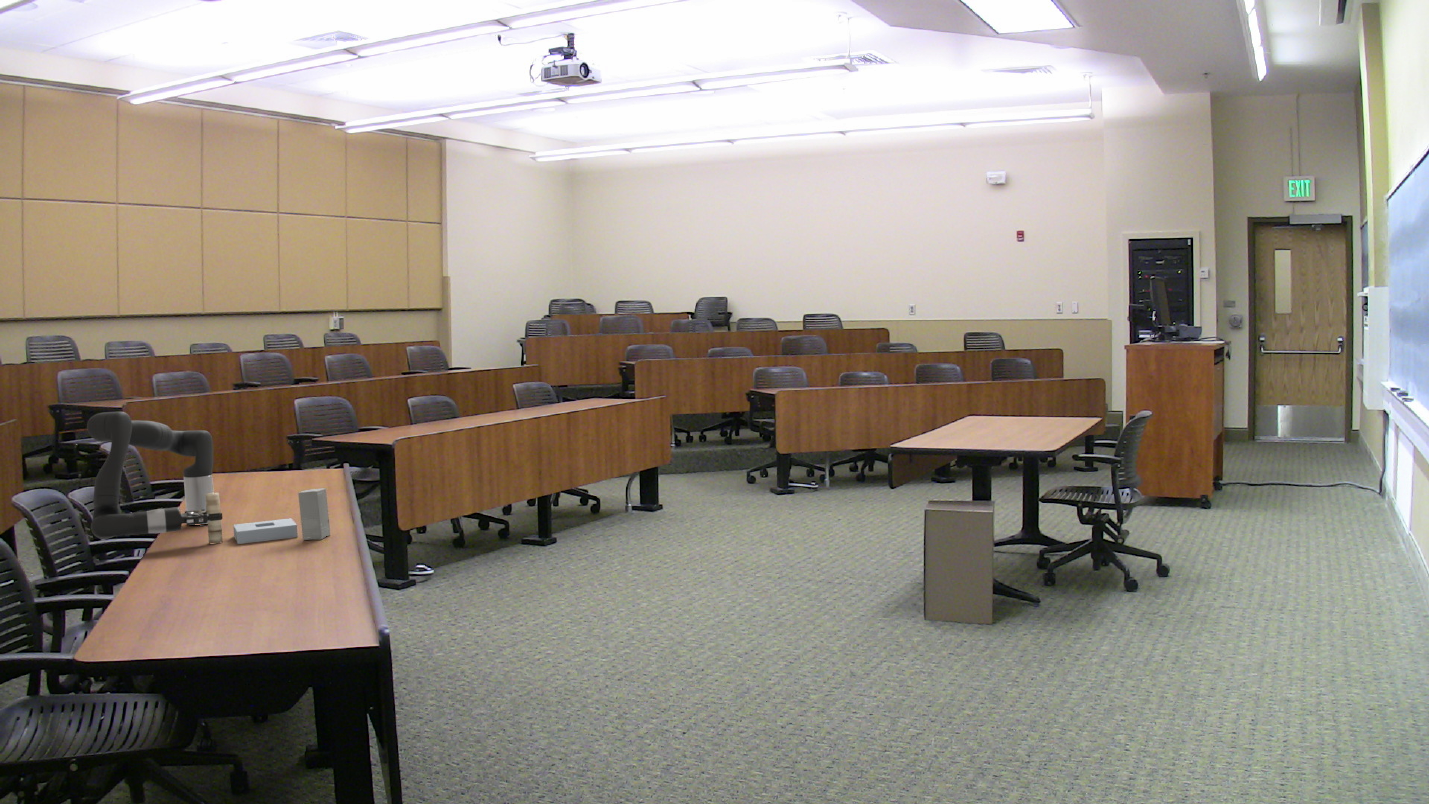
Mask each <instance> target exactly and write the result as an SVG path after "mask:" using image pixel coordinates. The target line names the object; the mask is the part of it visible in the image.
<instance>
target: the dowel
mask: <svg viewBox="0 0 1429 804" xmlns="http://www.w3.org/2000/svg"><path fill="white" fill-rule="evenodd" d="M205 496H206V509H207V514H214V513H220V511H221V505H220V504H221V501H220V500H221V499H220V492H214V493H208V494H205ZM207 535H208V544H209V543H219V544H221V543H220V542H222V543H223V528H222V520H215V521H210V522H208V525H207Z"/></svg>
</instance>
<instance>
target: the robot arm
mask: <svg viewBox="0 0 1429 804" xmlns="http://www.w3.org/2000/svg"><path fill="white" fill-rule="evenodd" d="M86 429H87V433H88V434H89V436H90V437H91V438H92V439H94V440H95V441H98V442H101V443H102V442H103V443H106V442H107V443H108V442H110V443H111V445H110V449H109V450H110V451H109V453H108V455H107V457H106V460H105V462H104V463H103V465H102V466H101V468H100V469H99V471H98V473H97V475H96V477H95V481H94V486H93V487H94V489H93V515H92V521H91V524H90V531H91V532H92V534H93V535H94V537H96V538H98V539H101V540H108V539H111V538H112V537H116V536H117V537H118V536H126V535H131V536H136V535H147V534H162V533H171V532H180V531H181V530H182V524H186V525H187V526H189V525H195V524H208V522H210V521H215V520H221V521H222V520H223V513H222V512H221V510H220V513H214V514H207V509H206V496H205V494H208V493H215V492H214V490H215V489H214V479H213V470H214V469H213V467H214V442H213V440H214V439H213V437H212V434H211V433H210V432H209V431H207V430H201V429H199V430H195V429H193V430H172V428H170V426H168V425H167V424H164V423H161V422H157V421H153V420H140V419H139V420H133V419H132V418H131V417H130V415H129V414H128V413H126V412H125V411H107V412H98V413H96V414H94V415H92V416H91V417H90V418H89V419H88V421H87V423H86ZM129 446H134V447H138V448H142V449H147V450H151V451H161V452H166V451H168V452H171V453H173V454H176V455H180V456H182V457H186V458H187V457H189V458H193V457H194V463H193V464H192V465H190V466H187V467H185V468H183V470H182V475H183V485H184V488H183V489H184V499H185V500H184V501H185V511H184V513H181V508H180V507H178V506H177V507H165V508H158V509H151V510H147V511H145V510H144V511H135V512H129V513H119V503H120V493H121V482H122V473H123V468H124V465H125V462H126V461H125V460H126V457H127V454H128V451H129Z"/></svg>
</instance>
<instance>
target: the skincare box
mask: <svg viewBox="0 0 1429 804" xmlns="http://www.w3.org/2000/svg"><path fill="white" fill-rule="evenodd" d="M327 493H328V492H327V488H325V487H324V488H323V487H322V488H311V489H310V488H309V489H306V490H302V491H300V492H298V493H297V494H298V503H299V512H300V513H299V514H300V523H301V524H300V525H301V533H302V540H304V541H309V540H324V538H326V536H327V537H328V536H331V527H330V526H331V524H330V514H329V509H328V508H329V506H328V505H329V504H328V494H327Z"/></svg>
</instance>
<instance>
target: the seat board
mask: <svg viewBox="0 0 1429 804" xmlns="http://www.w3.org/2000/svg"><path fill="white" fill-rule="evenodd" d="M232 525H233V537H234V539H235V541H236V543H237V544H238V545H240V544H241V545H242V544H249V543H250V544H251V543H257V542H266V541H273V540H274V541H275V540H276V541H277V540H284V539H291V538H298V537H299V535H298V524H297V523H296V522H295V521H294V520H293V518H291V517H290V518H283V519H281V518H280V519H274V520H264V521H256V522H255V521H254V522H246V523H238V524H232Z"/></svg>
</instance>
